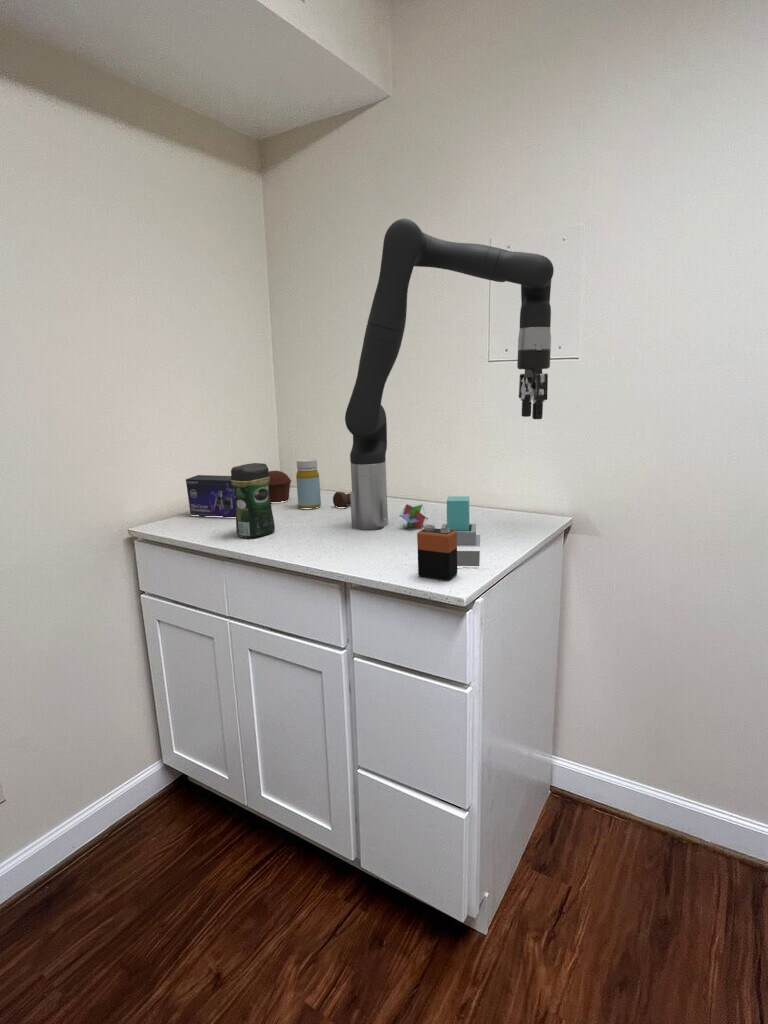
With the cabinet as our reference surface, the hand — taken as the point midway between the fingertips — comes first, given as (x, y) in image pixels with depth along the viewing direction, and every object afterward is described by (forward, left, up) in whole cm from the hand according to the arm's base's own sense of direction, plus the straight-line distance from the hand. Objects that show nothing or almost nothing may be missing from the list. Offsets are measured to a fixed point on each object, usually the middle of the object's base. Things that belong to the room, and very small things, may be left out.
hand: (531, 417), depth 140 cm
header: (-17, -13, -28) cm, 35 cm away
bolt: (-51, +30, -28) cm, 66 cm away
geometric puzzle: (-29, -1, -28) cm, 40 cm away
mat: (-17, -27, -28) cm, 42 cm away
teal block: (-17, -13, -27) cm, 35 cm away
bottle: (-65, +25, -28) cm, 75 cm away
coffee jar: (-70, -7, -28) cm, 76 cm away
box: (-90, +14, -28) cm, 95 cm away
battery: (-20, -37, -28) cm, 51 cm away
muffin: (-80, +35, -28) cm, 92 cm away
